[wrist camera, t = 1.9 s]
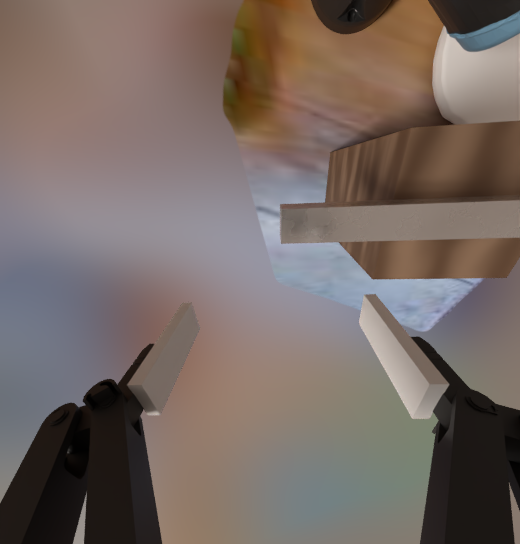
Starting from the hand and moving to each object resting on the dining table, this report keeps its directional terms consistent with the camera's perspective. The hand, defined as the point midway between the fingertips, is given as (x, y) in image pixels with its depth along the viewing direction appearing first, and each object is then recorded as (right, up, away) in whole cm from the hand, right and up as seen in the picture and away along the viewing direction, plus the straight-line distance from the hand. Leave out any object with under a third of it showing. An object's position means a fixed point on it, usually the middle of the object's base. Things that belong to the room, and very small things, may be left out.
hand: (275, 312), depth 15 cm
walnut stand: (+23, +22, +30) cm, 44 cm away
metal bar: (+17, +9, +6) cm, 20 cm away
